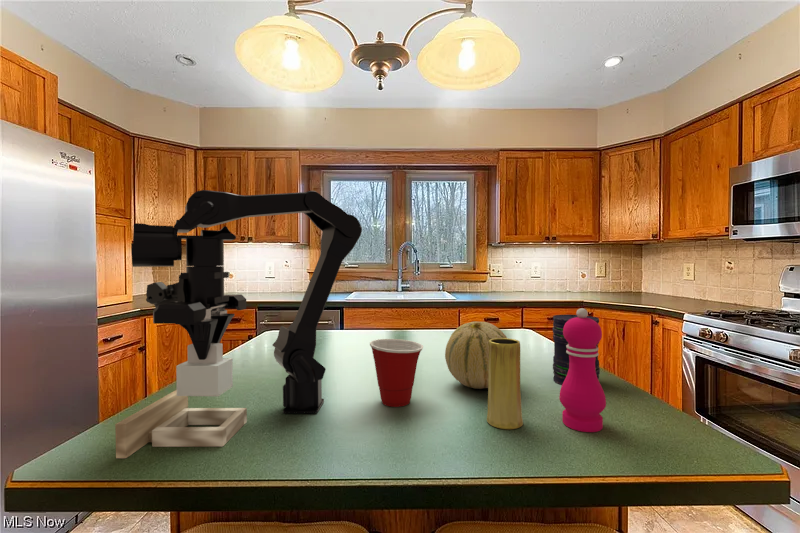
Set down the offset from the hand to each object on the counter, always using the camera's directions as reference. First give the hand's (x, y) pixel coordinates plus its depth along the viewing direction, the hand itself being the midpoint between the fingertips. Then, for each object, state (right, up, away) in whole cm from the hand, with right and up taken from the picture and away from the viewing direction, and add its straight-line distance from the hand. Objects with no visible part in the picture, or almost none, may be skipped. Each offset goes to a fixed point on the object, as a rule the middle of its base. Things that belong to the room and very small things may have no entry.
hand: (206, 357), depth 66 cm
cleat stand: (-1, -12, -2) cm, 12 cm away
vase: (+51, -12, +1) cm, 53 cm away
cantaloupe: (+51, -12, +20) cm, 56 cm away
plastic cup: (+32, -12, +12) cm, 37 cm away
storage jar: (+74, -11, +23) cm, 78 cm away
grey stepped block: (0, -6, 0) cm, 6 cm away
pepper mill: (+64, -12, 0) cm, 65 cm away
